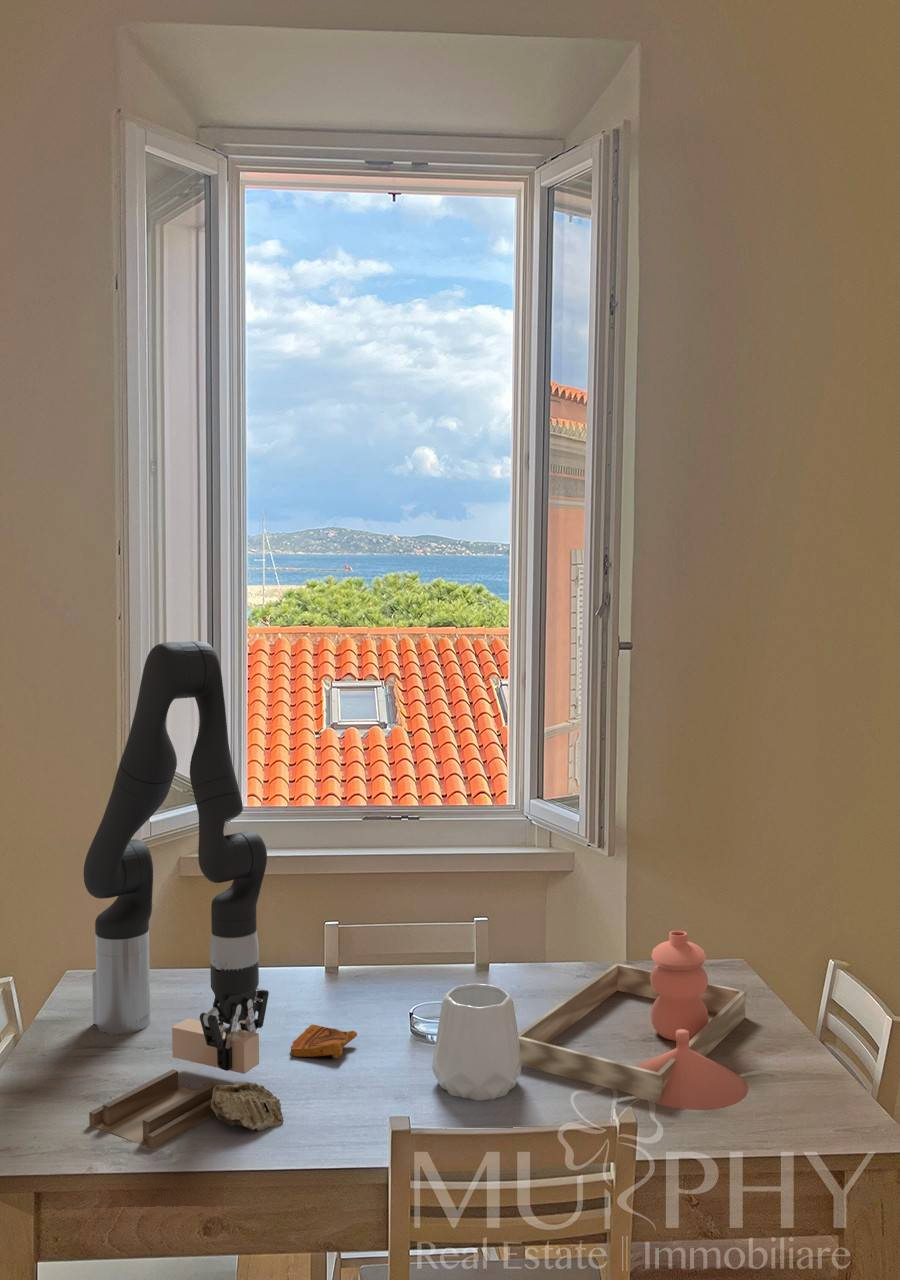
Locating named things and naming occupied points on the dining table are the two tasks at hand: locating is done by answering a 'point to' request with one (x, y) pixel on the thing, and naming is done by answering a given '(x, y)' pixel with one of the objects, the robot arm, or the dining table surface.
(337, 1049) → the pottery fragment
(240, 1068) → the peach rectangular block
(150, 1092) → the tray
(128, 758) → the robot arm
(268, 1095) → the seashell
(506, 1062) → the vase
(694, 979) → the ceramic vessels
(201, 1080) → the dining table surface
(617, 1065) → the vessel tray frame
